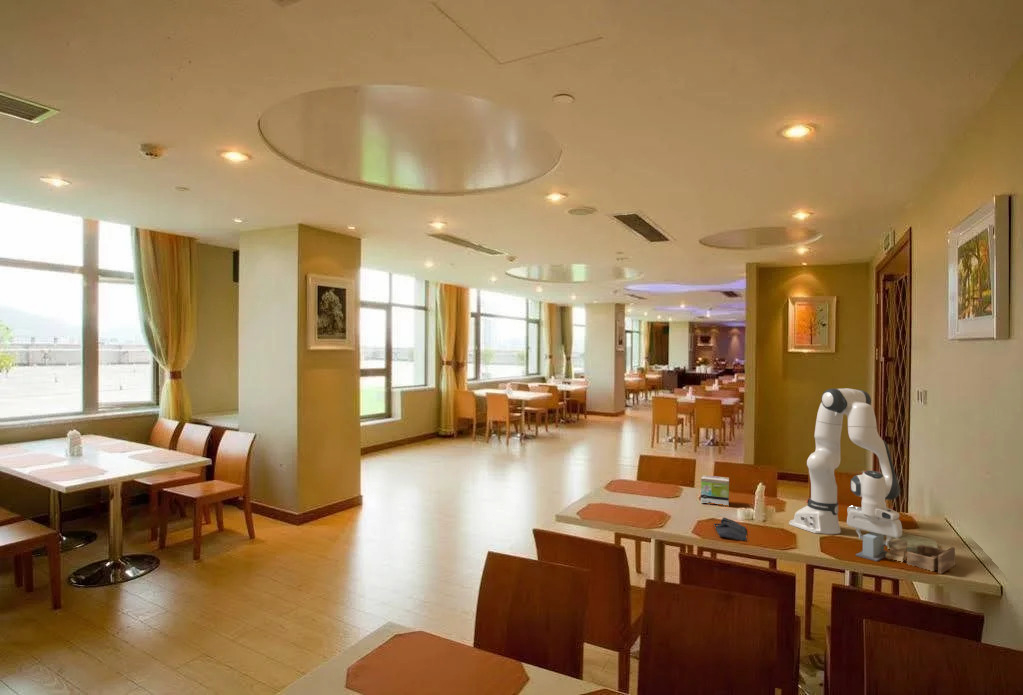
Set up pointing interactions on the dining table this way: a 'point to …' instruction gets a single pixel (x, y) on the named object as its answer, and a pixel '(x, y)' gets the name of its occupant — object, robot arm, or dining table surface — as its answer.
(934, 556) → the rack
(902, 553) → the offcut middle
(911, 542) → the decorative tile
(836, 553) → the dining table surface
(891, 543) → the offcut top
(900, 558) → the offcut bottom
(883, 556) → the mat
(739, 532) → the dark slate chunk
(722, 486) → the tea box
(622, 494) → the dining table surface
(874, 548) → the light blue rectangular block
